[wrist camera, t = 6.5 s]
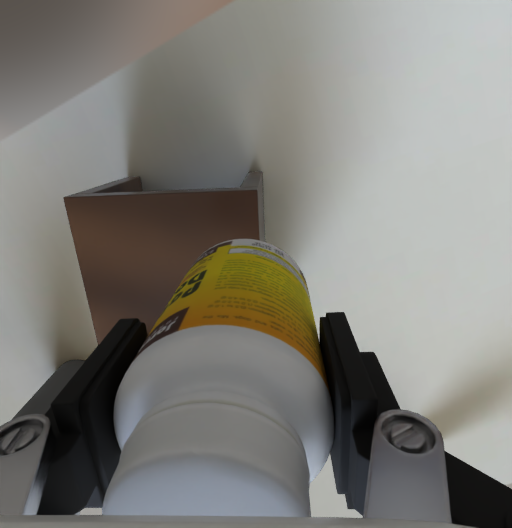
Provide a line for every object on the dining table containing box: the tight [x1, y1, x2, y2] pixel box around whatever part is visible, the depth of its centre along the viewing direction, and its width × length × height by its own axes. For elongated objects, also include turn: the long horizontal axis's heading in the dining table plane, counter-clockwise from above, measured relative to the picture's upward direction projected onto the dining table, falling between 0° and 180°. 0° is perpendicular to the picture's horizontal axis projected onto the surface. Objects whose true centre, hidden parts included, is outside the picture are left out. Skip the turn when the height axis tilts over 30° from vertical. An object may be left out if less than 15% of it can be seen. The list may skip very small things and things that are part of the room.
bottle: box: [12, 360, 85, 420], centre depth 32 cm, size 6×6×15 cm
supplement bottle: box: [102, 239, 334, 517], centre depth 11 cm, size 6×6×10 cm
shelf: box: [64, 171, 265, 345], centre depth 27 cm, size 14×12×13 cm
